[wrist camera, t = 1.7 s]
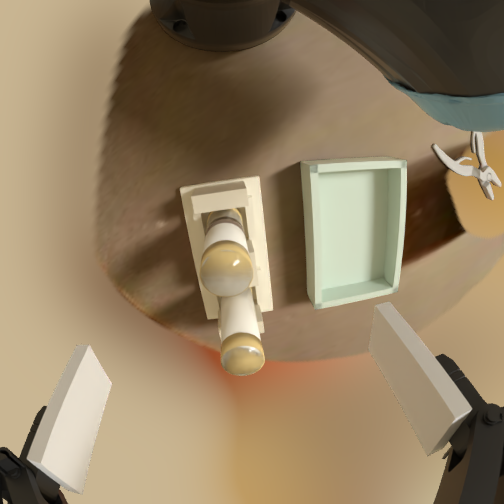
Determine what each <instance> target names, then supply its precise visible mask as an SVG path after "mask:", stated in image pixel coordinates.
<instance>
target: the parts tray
mask: <svg viewBox="0 0 504 504" xmlns="http://www.w3.org/2000/svg"><path fill="white" fill-rule="evenodd" d="M300 167H301V180H302V193H303V208H304V225H305V244H306V268H307V294H308V296H309V298H310V300H311V302H312V304H313V307H314V309H315V310H316V309H321V308H326V307H332V306H337V305H341V304H346V303H351V302H356V301H360V300H365V299H369V298H374V297H378V296H383V295H387V294H391V293H395V292H398V285H399V278H400V270H401V262H402V253H403V243H404V231H405V216H406V192H407V160H403V159H399V158H394V157H358V158H339V159H323V160H310V161H300Z"/></svg>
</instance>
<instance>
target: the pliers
mask: <svg viewBox="0 0 504 504" xmlns="http://www.w3.org/2000/svg"><path fill="white" fill-rule="evenodd" d="M475 136H476V144H475V145H474V139H475ZM471 143H472V148H471V152H472V153H476V156H477V159H478V162H479V168H478V169H477V168H475V167H474V166H471V165H460V164H459V163H460V162H461V161H462V160H465V159H469V160H472V159H471V158H469V157H463V156H462V157H461V158H459V159H457V160H456V161H453V160H452V159H451V158H449V157H448V156H447V155H446V154H445V153H444V152H443V151H442V150H441V149H440V148H439V147H438V146H437V145H436V144H433V146H432V147H433V149H434V150H435V152H436V153H437V155H438V157H439V158H440V159H441V160H442V162H443V163H444V164H445V165H446V166H447V167H448V168H450V170H451V171H453V172H455V173H458V174H460V175H463V176H474V177H476V178H477V179H478V182H479V185H480V187H481V189H482V191H483V193H484V194H485V197H486V198H488V199H490V200H493V199H494V195H493V192H492V188H491V184H490V183H489V182H491V183H492V184H493V185H495V186H498V187H501V182H500V180H499V179H498V177H497V175H496V174H495V172H494V171H493V170H492V169H491V168H490V167H489V166H487V164H486V161H485V155H484V142H483V137H482V133H481V132H474V131H472V136H471ZM475 150H476V152H475Z"/></svg>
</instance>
